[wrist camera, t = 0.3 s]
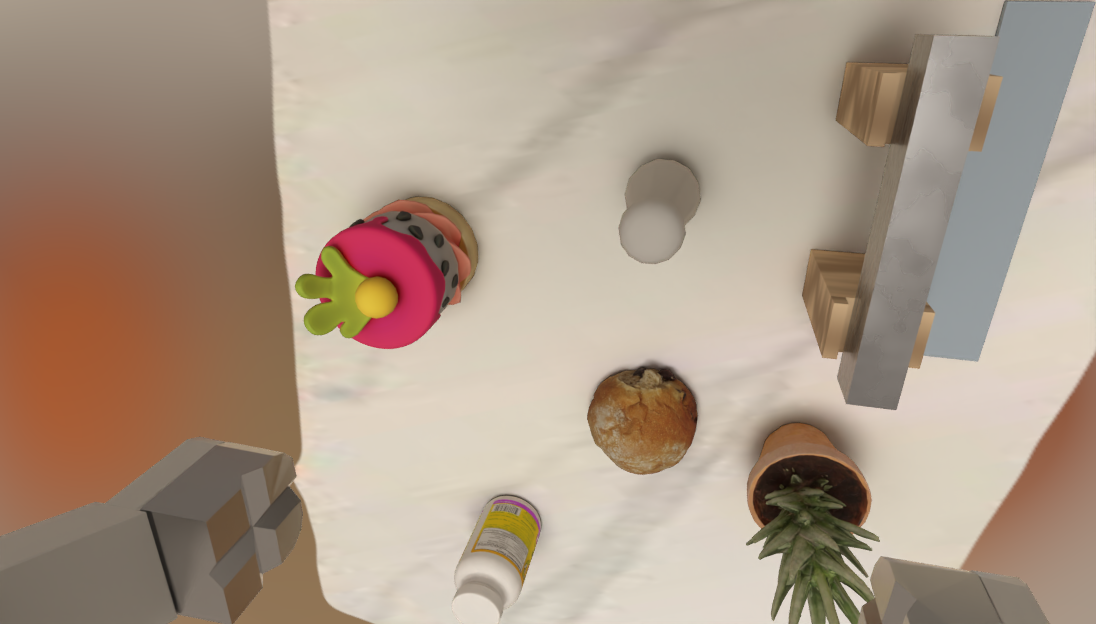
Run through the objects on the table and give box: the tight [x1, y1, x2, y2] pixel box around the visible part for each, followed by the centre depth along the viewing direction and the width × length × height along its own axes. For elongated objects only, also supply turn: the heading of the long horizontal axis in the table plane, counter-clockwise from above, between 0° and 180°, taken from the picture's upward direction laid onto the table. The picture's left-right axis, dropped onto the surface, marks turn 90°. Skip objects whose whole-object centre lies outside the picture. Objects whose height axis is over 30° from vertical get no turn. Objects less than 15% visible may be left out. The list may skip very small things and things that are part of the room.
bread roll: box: [587, 368, 698, 475], centre depth 60 cm, size 10×10×8 cm
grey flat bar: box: [923, 1, 1095, 361], centre depth 47 cm, size 26×5×1 cm, turn 179°
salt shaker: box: [619, 159, 701, 264], centre depth 47 cm, size 6×6×13 cm
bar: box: [837, 34, 1000, 410], centre depth 39 cm, size 22×3×4 cm, turn 0°
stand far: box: [802, 249, 935, 369], centre depth 47 cm, size 4×6×11 cm, turn 90°
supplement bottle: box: [452, 496, 541, 624], centre depth 65 cm, size 7×7×13 cm
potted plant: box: [746, 423, 880, 624], centre depth 48 cm, size 10×10×25 cm
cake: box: [295, 197, 478, 349], centre depth 53 cm, size 10×11×15 cm
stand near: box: [836, 62, 1003, 152], centre depth 41 cm, size 4×6×11 cm, turn 90°
